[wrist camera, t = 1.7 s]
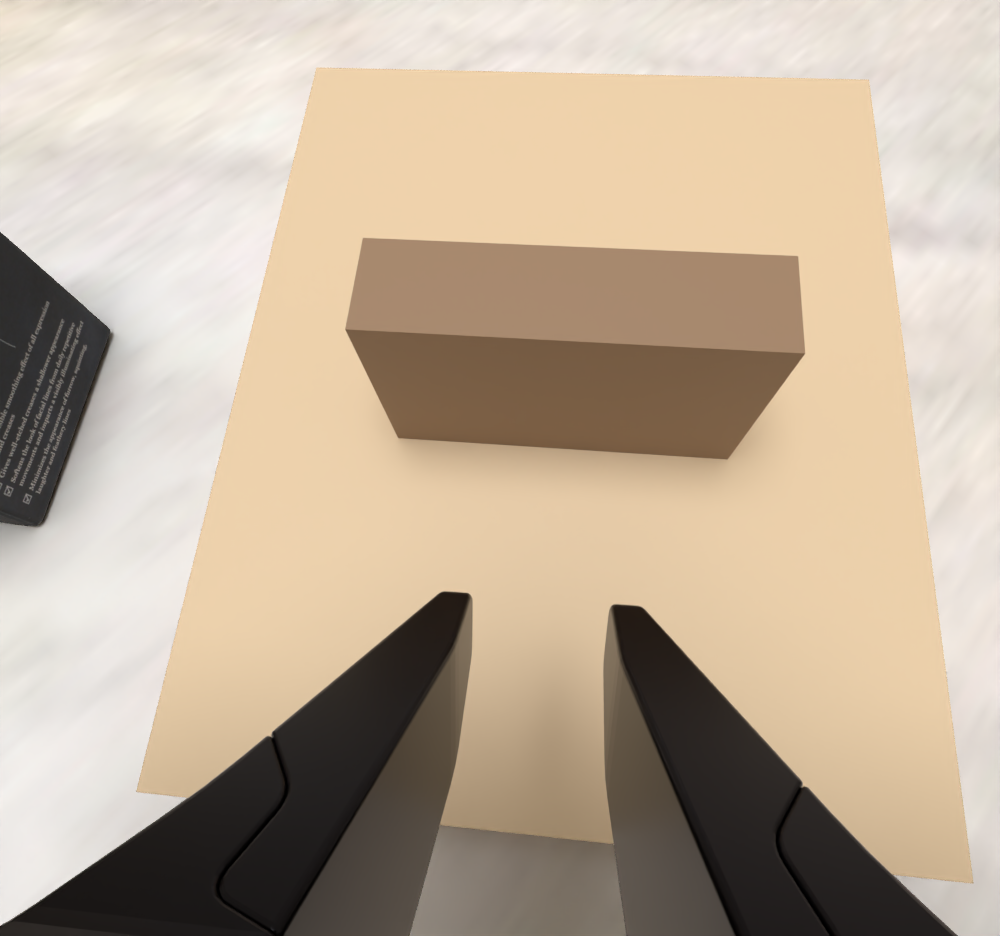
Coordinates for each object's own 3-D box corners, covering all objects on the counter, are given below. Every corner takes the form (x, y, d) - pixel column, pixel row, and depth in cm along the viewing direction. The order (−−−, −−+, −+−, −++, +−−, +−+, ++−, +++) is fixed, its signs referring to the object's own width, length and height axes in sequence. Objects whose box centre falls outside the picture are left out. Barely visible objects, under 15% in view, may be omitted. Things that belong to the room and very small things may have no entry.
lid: (949, 874, 14) (1220, 974, 8) (156, 788, 15) (-59, 826, 10) (857, 102, 21) (969, -115, 15) (324, 89, 22) (255, -115, 17)
